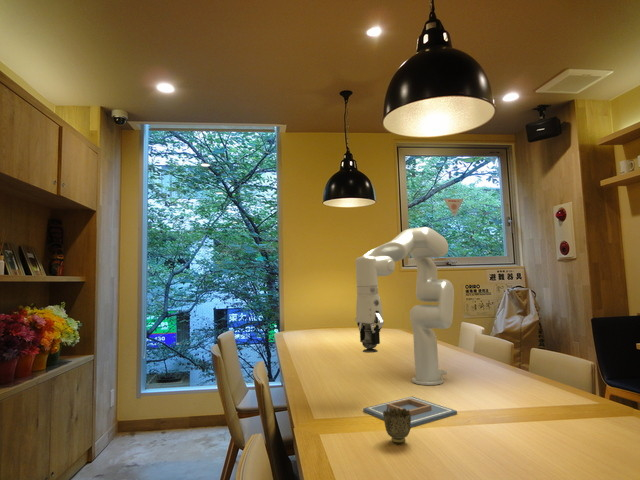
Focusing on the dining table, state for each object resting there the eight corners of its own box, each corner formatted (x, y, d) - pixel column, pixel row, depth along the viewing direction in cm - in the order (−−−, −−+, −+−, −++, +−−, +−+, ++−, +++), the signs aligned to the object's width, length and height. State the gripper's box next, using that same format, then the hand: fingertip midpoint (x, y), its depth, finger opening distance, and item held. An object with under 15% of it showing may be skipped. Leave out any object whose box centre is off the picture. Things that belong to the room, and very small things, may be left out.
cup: (381, 438, 112) (380, 408, 113) (407, 436, 113) (406, 406, 114) (388, 449, 105) (386, 417, 106) (416, 447, 106) (414, 415, 106)
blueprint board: (412, 399, 147) (411, 392, 147) (457, 414, 130) (456, 405, 130) (363, 411, 135) (362, 403, 135) (405, 429, 118) (404, 420, 118)
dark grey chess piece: (377, 352, 139) (376, 317, 141) (360, 352, 141) (359, 317, 142) (379, 349, 145) (377, 315, 146) (362, 349, 147) (361, 315, 148)
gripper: (391, 290, 139) (394, 344, 138) (362, 290, 154) (364, 339, 153) (373, 292, 135) (376, 347, 134) (345, 291, 150) (347, 341, 149)
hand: (369, 342), depth 143 cm, fingers closed on dark grey chess piece, 5 cm apart
